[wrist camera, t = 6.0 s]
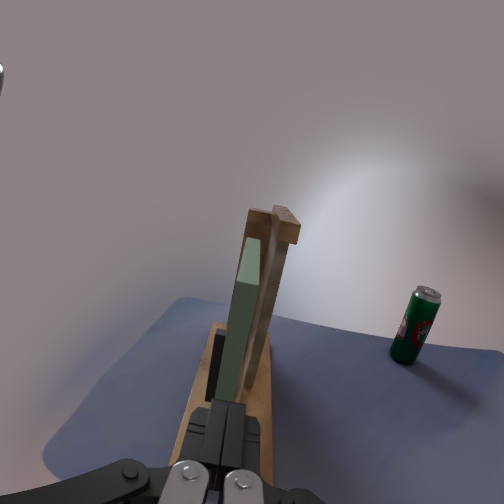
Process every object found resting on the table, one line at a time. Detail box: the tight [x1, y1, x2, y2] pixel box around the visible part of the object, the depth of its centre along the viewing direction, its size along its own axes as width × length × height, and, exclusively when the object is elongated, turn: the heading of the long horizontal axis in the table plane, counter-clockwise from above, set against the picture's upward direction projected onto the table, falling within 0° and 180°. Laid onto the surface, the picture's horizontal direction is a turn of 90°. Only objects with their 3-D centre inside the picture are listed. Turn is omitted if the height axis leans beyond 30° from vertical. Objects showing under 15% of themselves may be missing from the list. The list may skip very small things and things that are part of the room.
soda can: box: [390, 286, 441, 364], centre depth 39 cm, size 5×5×12 cm
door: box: [205, 237, 260, 415], centre depth 22 cm, size 2×11×15 cm, turn 178°
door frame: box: [168, 205, 301, 487], centre depth 26 cm, size 8×25×19 cm, turn 178°
